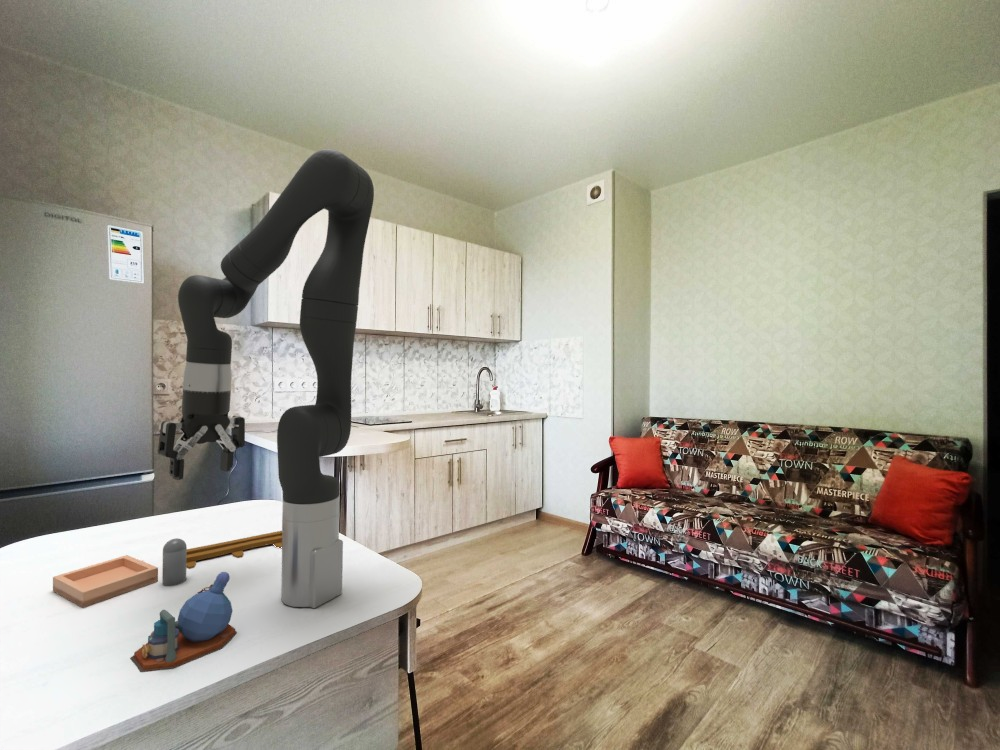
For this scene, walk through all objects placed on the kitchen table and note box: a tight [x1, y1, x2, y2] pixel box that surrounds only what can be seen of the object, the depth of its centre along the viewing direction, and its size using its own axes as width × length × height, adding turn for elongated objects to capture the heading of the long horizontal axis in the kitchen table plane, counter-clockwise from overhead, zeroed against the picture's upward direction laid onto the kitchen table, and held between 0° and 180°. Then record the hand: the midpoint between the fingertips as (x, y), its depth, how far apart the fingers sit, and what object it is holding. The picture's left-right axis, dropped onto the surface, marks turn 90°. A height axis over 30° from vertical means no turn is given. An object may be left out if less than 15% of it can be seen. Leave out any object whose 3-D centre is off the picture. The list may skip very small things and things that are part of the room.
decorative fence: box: [186, 530, 282, 570], centre depth 103 cm, size 25×2×10 cm
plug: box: [161, 537, 188, 587], centre depth 87 cm, size 4×4×8 cm
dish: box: [52, 554, 159, 608], centre depth 84 cm, size 11×11×2 cm
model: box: [129, 571, 238, 673], centre depth 68 cm, size 12×9×9 cm
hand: (202, 474), depth 88 cm, fingers open, 8 cm apart
